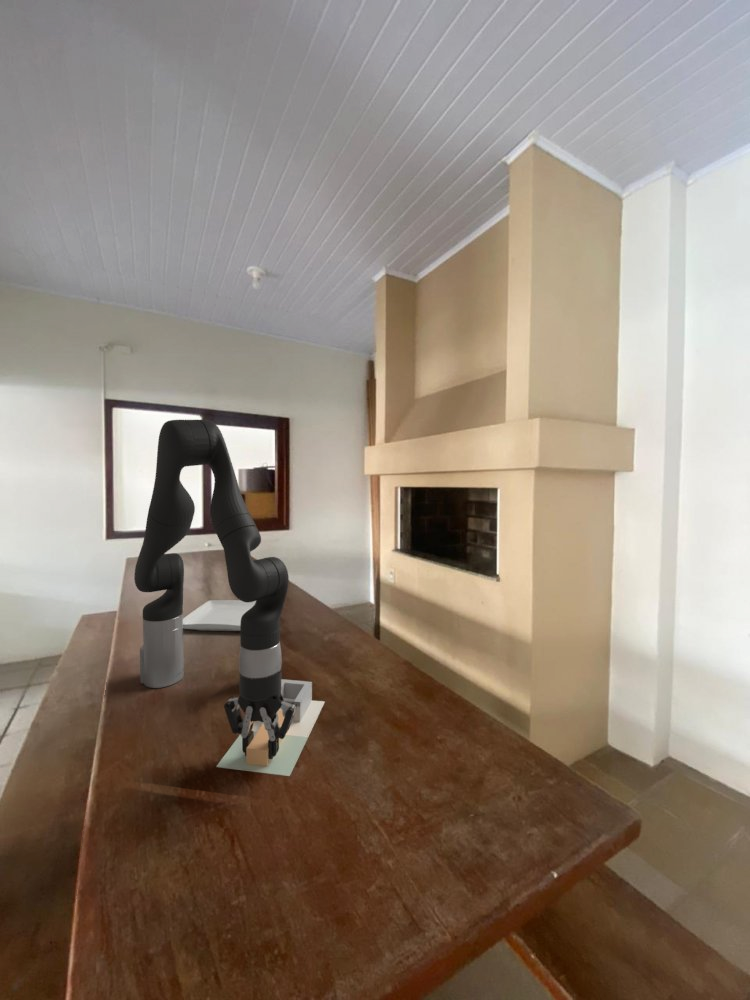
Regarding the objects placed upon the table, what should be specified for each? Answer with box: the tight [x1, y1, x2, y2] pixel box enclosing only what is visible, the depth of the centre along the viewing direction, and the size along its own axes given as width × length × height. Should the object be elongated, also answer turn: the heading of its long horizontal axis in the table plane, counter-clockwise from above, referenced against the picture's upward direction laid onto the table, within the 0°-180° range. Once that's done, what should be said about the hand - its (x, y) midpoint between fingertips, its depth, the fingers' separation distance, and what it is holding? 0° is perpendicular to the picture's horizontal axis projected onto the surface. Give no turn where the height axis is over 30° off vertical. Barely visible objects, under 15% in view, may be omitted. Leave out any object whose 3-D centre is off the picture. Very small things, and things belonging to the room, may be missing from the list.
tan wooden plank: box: [246, 711, 284, 766], centre depth 78 cm, size 4×12×3 cm, turn 172°
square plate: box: [183, 599, 256, 632], centre depth 147 cm, size 27×27×4 cm
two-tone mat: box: [215, 678, 326, 777], centre depth 82 cm, size 14×23×6 cm, turn 172°
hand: (260, 754), depth 74 cm, fingers closed on tan wooden plank, 4 cm apart
